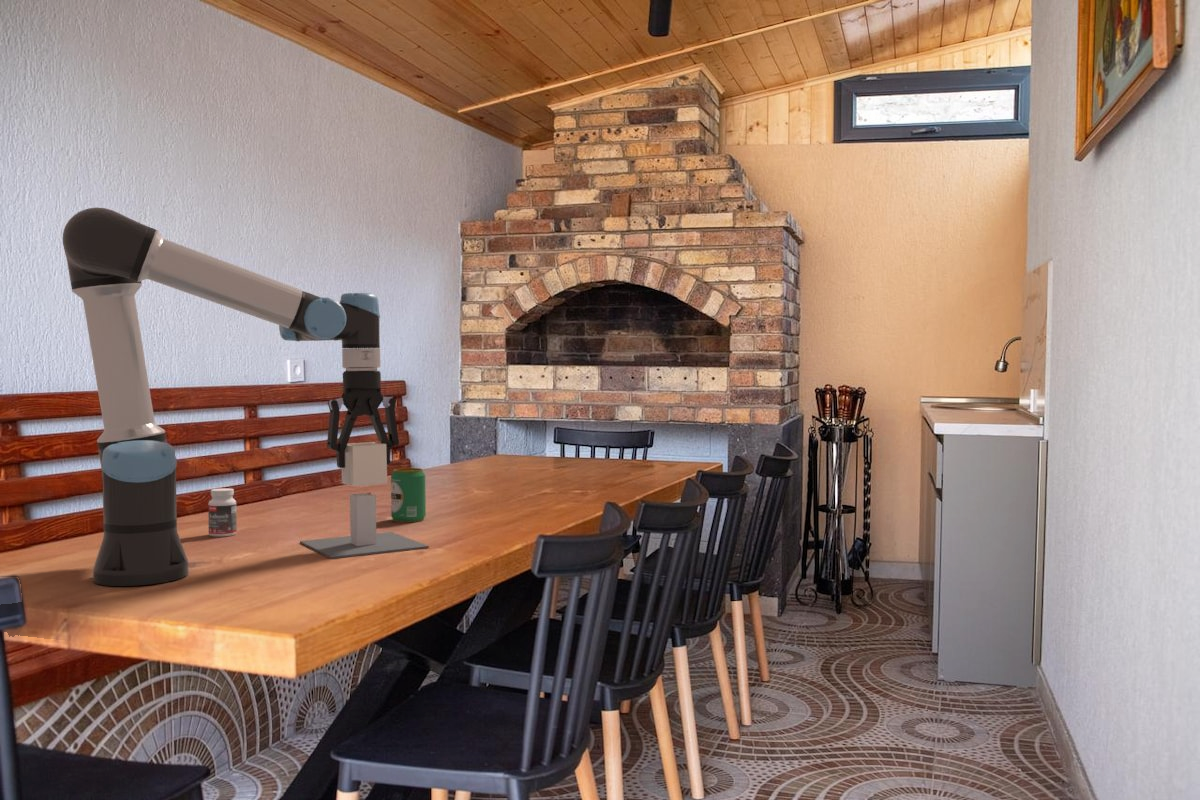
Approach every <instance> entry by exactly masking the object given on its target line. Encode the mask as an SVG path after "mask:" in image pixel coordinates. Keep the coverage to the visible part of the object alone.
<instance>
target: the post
mask: <svg viewBox="0 0 1200 800" xmlns="http://www.w3.org/2000/svg"><path fill="white" fill-rule="evenodd" d="M349 508H350V512H349V514H350V516H349V517H350V518H349V520H350V535H347V536H346V535H345V536H338V537H327V538H319V539H308V540H306V539H305V540H300V541H299V544H301V545H303V546H306V547H307V548H309V549H311V550H313V551H315V552H317V553H319V554H321V555H323V556H325V557H327V558H329V559H341V558H350V557H360V556H368V555H377V554H385V553H394V552H395V553H396V552H405V551H413V550H421V549H429V548H430V546H429V545H428V544H424V543H422V542H420V541H417V540H414V539H412V538H409V537H406V536H404V535H400V534H398V533H396V532H393V531H389V532H387V531H386V532H378V533H377V495H376V494H373V493H372V492H364V493H363V492H361V493H352V494H351V493H350V494H349Z"/></svg>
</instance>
